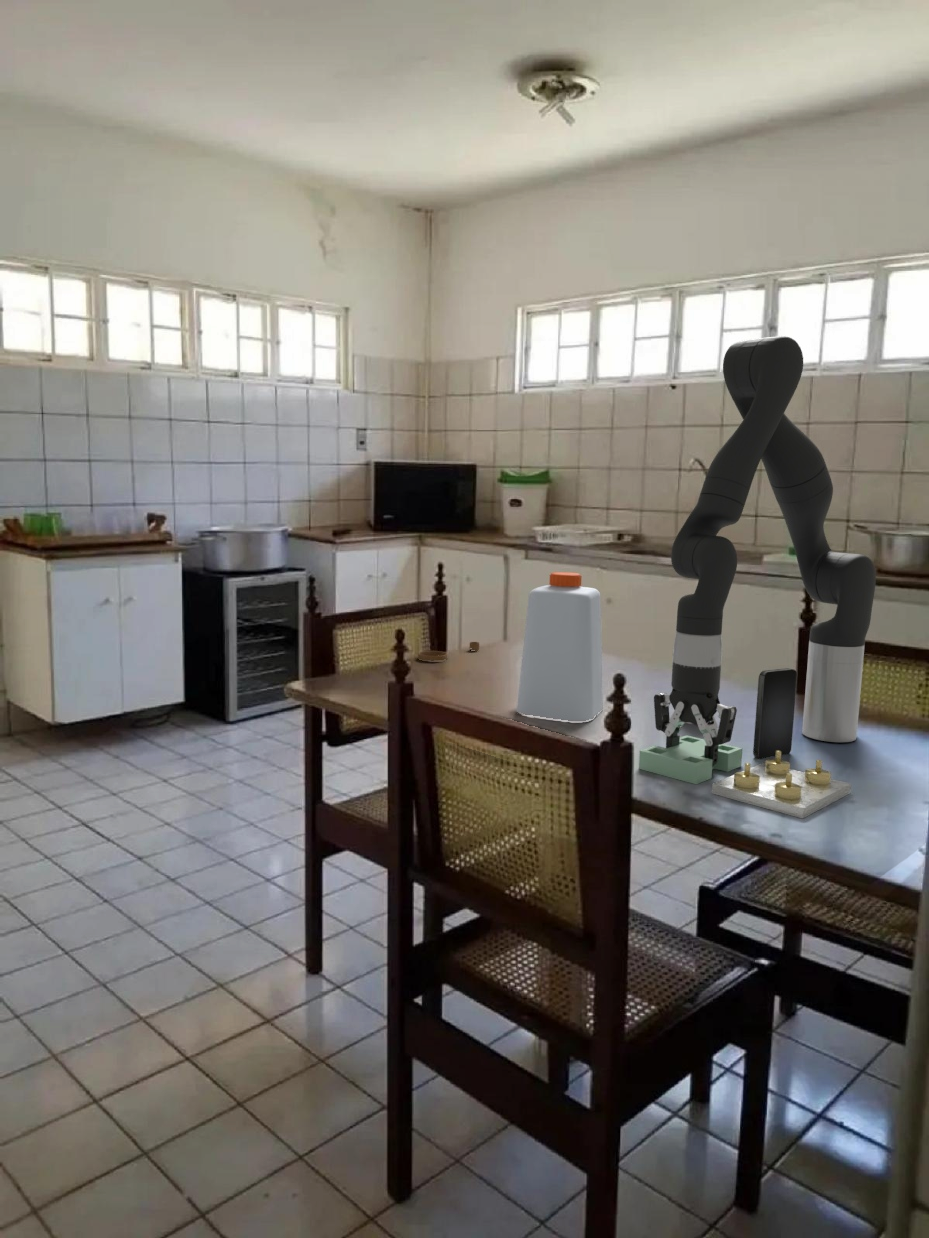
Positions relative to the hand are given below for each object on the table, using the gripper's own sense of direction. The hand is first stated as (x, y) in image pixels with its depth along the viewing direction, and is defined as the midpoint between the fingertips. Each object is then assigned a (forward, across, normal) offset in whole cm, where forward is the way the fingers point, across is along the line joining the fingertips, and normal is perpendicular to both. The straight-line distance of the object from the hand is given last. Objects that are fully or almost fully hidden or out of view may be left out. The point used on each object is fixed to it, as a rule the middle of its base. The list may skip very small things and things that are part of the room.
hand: (690, 762), depth 151 cm
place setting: (+2, +81, -25) cm, 85 cm away
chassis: (+1, -16, +1) cm, 16 cm away
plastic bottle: (+1, +35, -10) cm, 36 cm away
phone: (+1, -6, -16) cm, 17 cm away
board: (+1, 0, 0) cm, 1 cm away
